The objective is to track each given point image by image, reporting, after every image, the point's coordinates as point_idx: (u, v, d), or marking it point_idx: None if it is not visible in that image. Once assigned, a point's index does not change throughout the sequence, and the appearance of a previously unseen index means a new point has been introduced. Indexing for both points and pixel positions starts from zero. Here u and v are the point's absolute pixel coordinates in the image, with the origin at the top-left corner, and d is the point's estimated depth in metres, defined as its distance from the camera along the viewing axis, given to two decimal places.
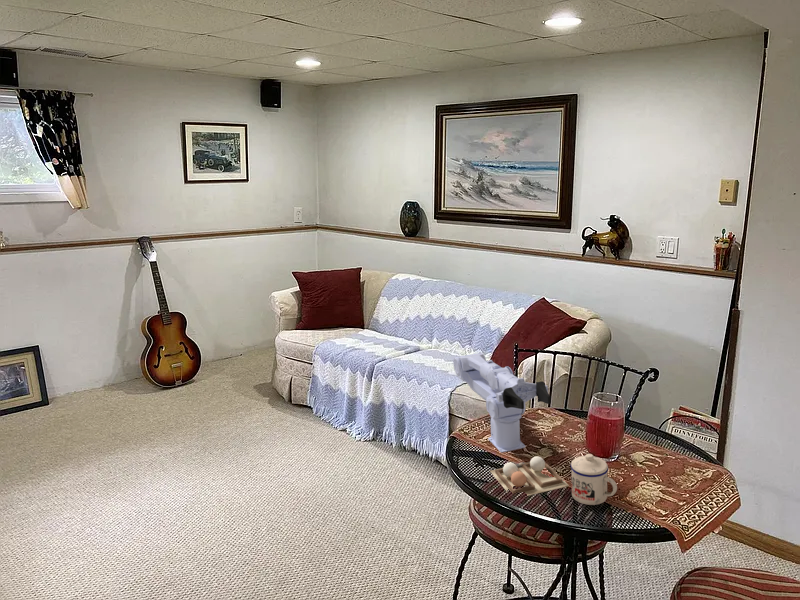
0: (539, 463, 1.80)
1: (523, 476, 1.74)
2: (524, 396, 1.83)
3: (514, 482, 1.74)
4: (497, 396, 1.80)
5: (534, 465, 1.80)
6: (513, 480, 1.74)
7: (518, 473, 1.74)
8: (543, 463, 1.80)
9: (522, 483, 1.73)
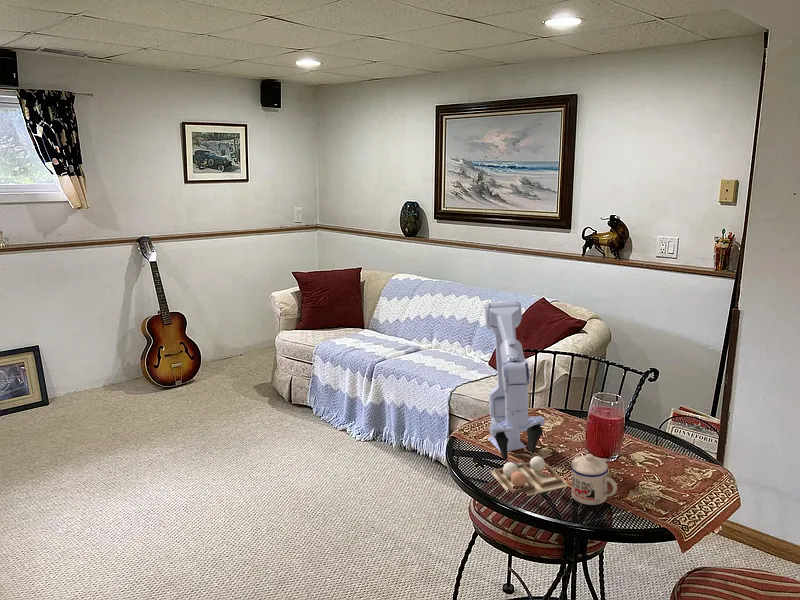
0: (539, 463, 1.80)
1: (523, 476, 1.74)
2: None
3: (514, 482, 1.74)
4: (491, 431, 1.69)
5: (534, 465, 1.80)
6: (513, 480, 1.74)
7: (518, 473, 1.74)
8: (543, 463, 1.80)
9: (522, 483, 1.73)
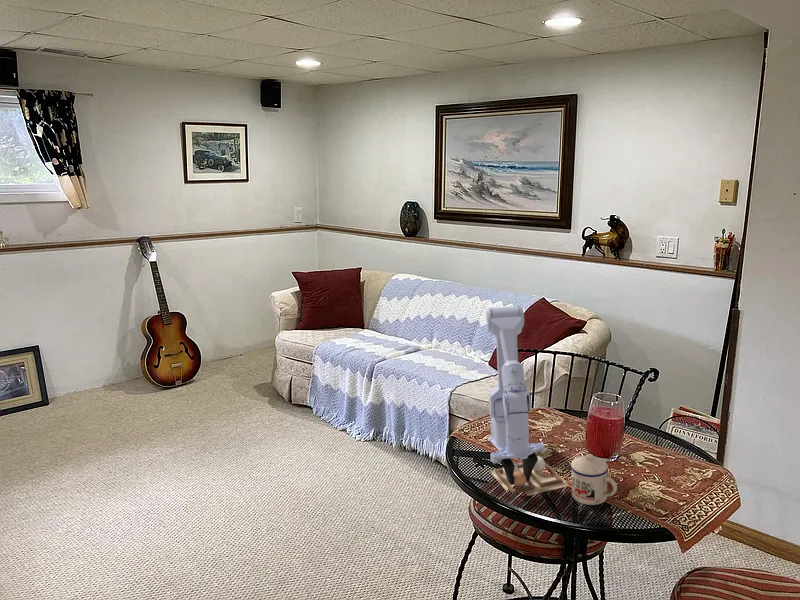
0: (539, 463, 1.80)
1: (523, 476, 1.74)
2: None
3: (514, 482, 1.74)
4: (492, 458, 1.71)
5: None
6: None
7: (518, 473, 1.74)
8: (543, 463, 1.80)
9: (522, 483, 1.73)
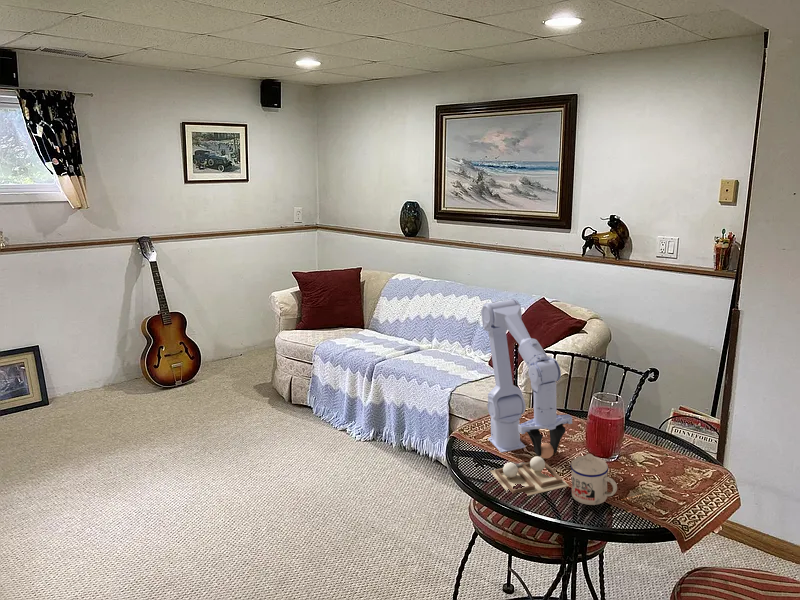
0: (539, 463, 1.80)
1: (550, 447, 1.74)
2: None
3: (541, 453, 1.74)
4: (520, 429, 1.71)
5: (534, 465, 1.80)
6: None
7: (545, 444, 1.74)
8: (543, 463, 1.80)
9: (549, 454, 1.73)
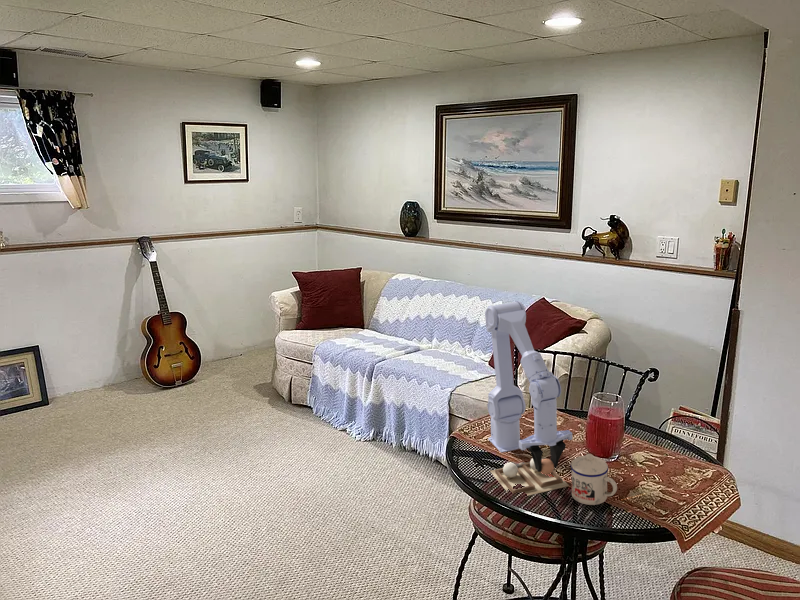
0: None
1: (551, 463, 1.75)
2: None
3: (542, 469, 1.75)
4: (520, 445, 1.72)
5: (534, 465, 1.80)
6: None
7: (546, 460, 1.75)
8: None
9: (550, 470, 1.75)
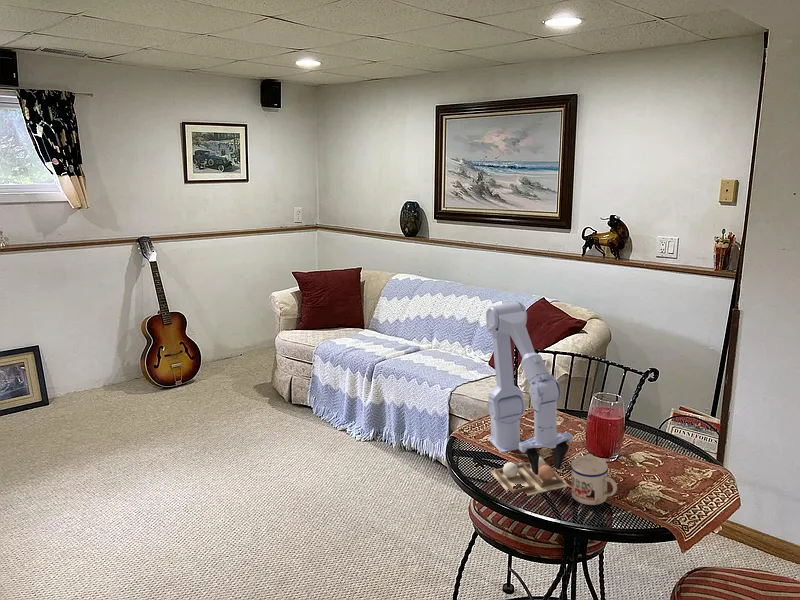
0: (539, 463, 1.80)
1: (550, 470, 1.75)
2: None
3: (541, 476, 1.75)
4: (520, 447, 1.72)
5: None
6: (540, 474, 1.76)
7: (545, 467, 1.76)
8: (543, 463, 1.80)
9: (549, 477, 1.75)
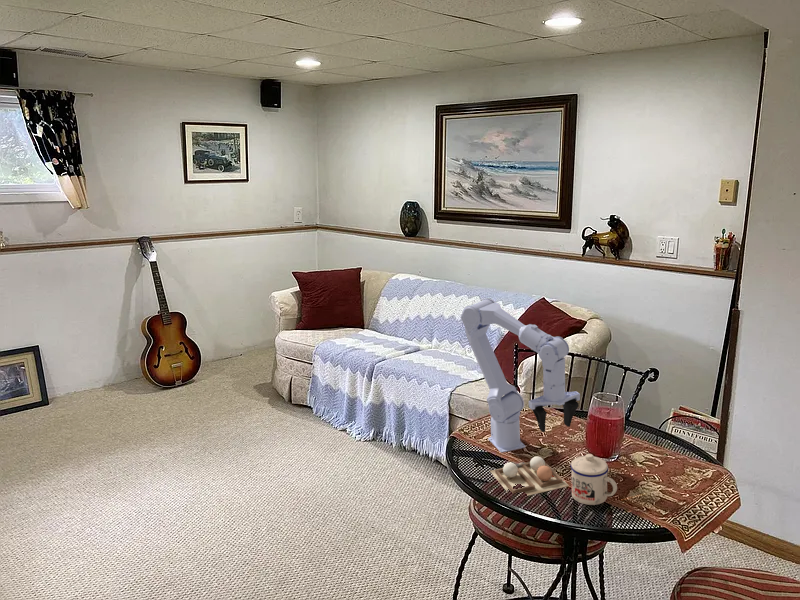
0: (539, 463, 1.80)
1: (548, 470, 1.75)
2: None
3: (540, 478, 1.75)
4: (530, 405, 1.79)
5: (534, 465, 1.80)
6: (539, 476, 1.76)
7: (542, 468, 1.76)
8: (543, 463, 1.80)
9: (548, 477, 1.75)
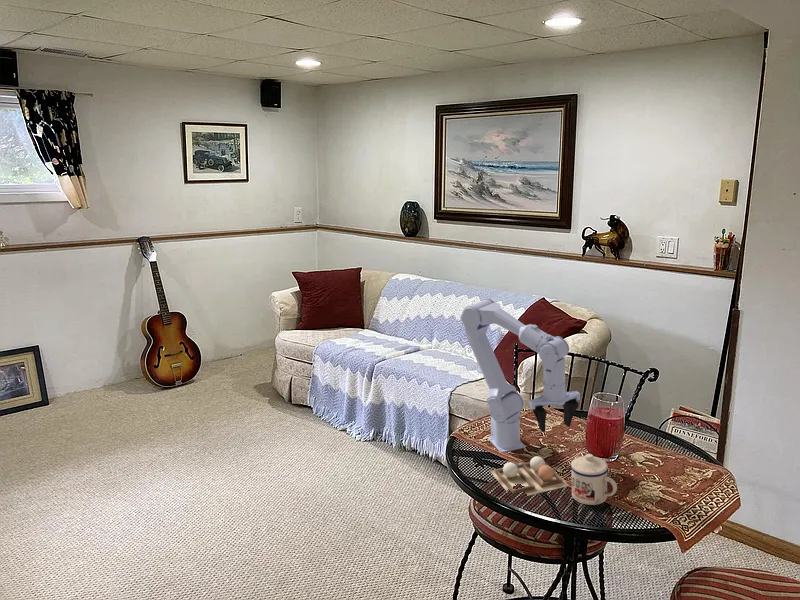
0: (539, 463, 1.80)
1: (550, 470, 1.75)
2: None
3: (541, 476, 1.75)
4: (530, 405, 1.79)
5: (534, 465, 1.80)
6: (540, 475, 1.76)
7: (545, 467, 1.76)
8: (543, 463, 1.80)
9: (549, 477, 1.75)
